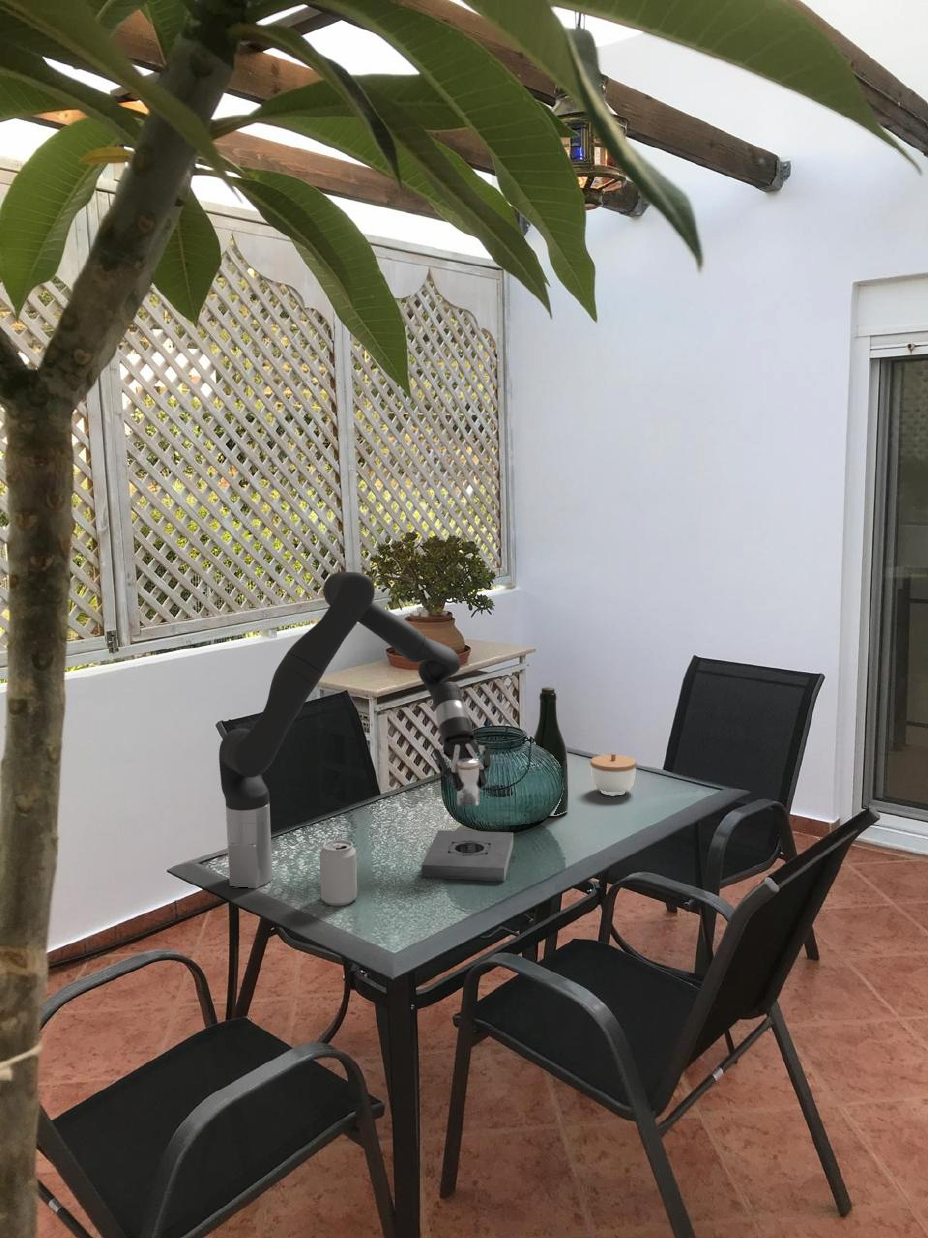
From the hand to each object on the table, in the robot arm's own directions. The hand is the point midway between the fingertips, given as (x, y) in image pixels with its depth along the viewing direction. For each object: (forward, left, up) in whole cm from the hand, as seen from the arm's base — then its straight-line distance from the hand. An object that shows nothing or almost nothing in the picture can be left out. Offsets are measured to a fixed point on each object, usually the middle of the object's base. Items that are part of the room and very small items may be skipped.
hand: (470, 788), depth 216 cm
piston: (+2, +1, -4) cm, 5 cm away
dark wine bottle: (+38, -15, -18) cm, 44 cm away
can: (-22, +25, -18) cm, 38 cm away
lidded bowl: (+56, -32, -18) cm, 67 cm away
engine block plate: (+2, +1, -18) cm, 18 cm away
